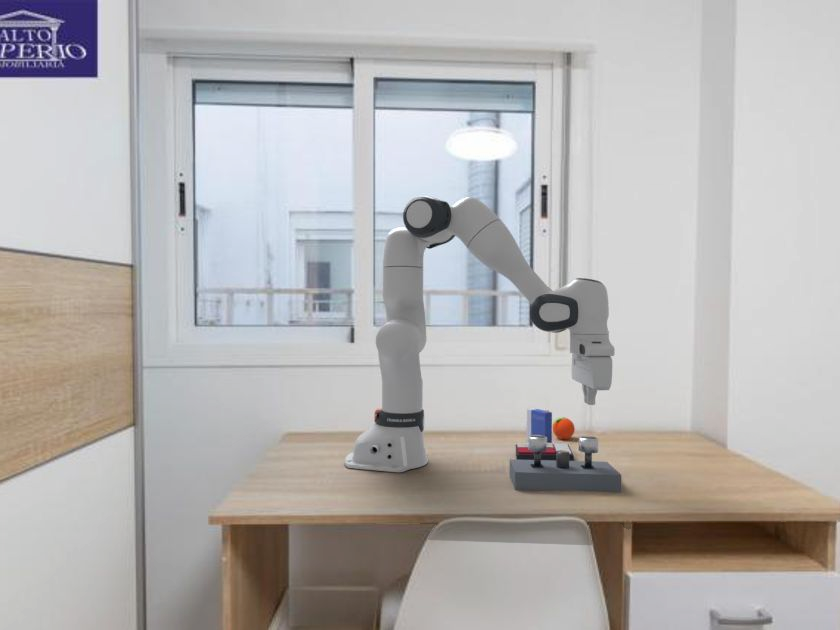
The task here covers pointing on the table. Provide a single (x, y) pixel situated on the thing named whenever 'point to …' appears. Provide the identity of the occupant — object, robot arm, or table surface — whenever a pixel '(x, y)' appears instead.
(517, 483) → the panel
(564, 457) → the dial
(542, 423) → the walkman
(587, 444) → the knob
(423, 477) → the table surface
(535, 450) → the knob
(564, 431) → the clementine
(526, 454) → the calculator
